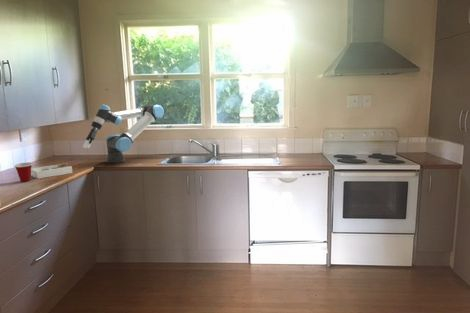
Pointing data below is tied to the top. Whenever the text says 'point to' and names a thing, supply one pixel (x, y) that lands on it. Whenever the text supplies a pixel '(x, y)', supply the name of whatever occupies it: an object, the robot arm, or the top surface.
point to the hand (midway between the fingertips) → (85, 147)
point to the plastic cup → (24, 171)
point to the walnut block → (62, 165)
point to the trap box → (50, 171)
